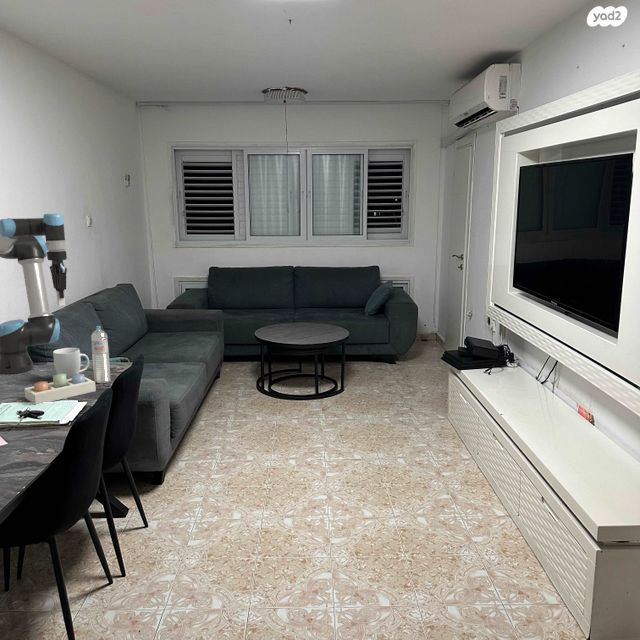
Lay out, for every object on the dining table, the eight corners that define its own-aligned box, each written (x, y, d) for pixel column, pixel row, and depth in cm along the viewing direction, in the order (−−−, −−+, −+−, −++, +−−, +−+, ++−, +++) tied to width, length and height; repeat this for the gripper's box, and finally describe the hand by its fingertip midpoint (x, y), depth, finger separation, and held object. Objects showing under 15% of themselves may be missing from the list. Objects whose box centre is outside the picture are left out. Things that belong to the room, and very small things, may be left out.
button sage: (51, 386, 238) (50, 375, 237) (64, 384, 241) (63, 372, 240) (56, 389, 234) (55, 377, 233) (69, 386, 237) (67, 375, 237)
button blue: (70, 387, 243) (69, 375, 242) (82, 384, 247) (81, 373, 246) (75, 389, 240) (74, 378, 239) (87, 386, 243) (86, 375, 242)
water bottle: (114, 379, 258) (109, 325, 253) (104, 384, 251) (100, 328, 246) (100, 378, 260) (96, 324, 255) (91, 383, 253) (86, 327, 248)
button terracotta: (33, 395, 233) (31, 383, 232) (46, 392, 236) (44, 380, 235) (37, 397, 229) (36, 385, 228) (50, 395, 233) (49, 383, 232)
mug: (86, 372, 270) (84, 345, 267) (94, 377, 262) (91, 349, 259) (52, 378, 261) (49, 350, 258) (59, 383, 252) (56, 354, 250)
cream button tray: (25, 397, 234) (24, 388, 233) (83, 384, 251) (83, 376, 250) (35, 404, 226) (34, 395, 225) (95, 391, 242) (95, 381, 241)
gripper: (41, 250, 245) (46, 304, 250) (53, 251, 236) (58, 308, 241) (59, 249, 251) (64, 302, 255) (71, 250, 242) (76, 306, 246)
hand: (61, 305), depth 248 cm, fingers closed
